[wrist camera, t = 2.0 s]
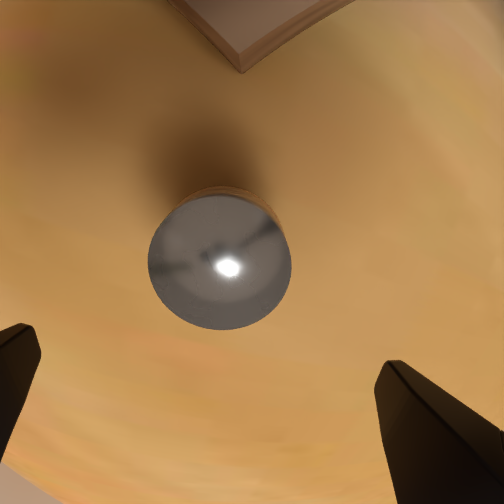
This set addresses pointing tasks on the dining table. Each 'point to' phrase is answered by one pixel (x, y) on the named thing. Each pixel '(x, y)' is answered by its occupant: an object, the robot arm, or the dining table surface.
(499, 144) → the dining table surface
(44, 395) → the dining table surface
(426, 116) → the dining table surface
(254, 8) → the walnut beam
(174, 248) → the steel pin
